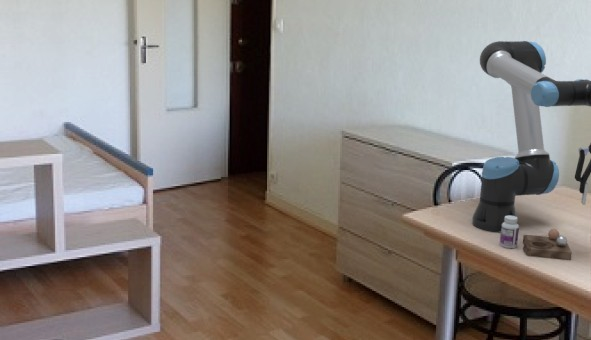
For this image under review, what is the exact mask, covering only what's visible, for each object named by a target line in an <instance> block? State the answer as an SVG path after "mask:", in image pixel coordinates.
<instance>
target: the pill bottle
mask: <svg viewBox="0 0 591 340" xmlns="http://www.w3.org/2000/svg"><path fill="white" fill-rule="evenodd" d="M518 219H519V218H518V217H515V216H505V219H504V220H505V222H503V223H502V227H501V232H500V237H499V238H500V239H499V245H500V246H501V247H503V248H506V249H515V248H517V246H518V241H519V232H520V231H519V229H520V226H519V224H517V220H518Z"/></svg>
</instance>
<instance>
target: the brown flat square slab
mask: <svg viewBox="0 0 591 340" xmlns="http://www.w3.org/2000/svg"><path fill="white" fill-rule="evenodd" d="M522 237H523V238H522V244H523V247H522V248H523V252H524V253H525V255H526V257H532V258H546V259H552V260H554V259H555V260H564V261H565V260H566V261H571V260H572V253H573V252H572V250H571V248H570V246H569V243H568V242H567V244H566V245H565V246H558V245H557V244H556V239H555V240H553V239H551V238H549V236H543V235H531V234H523V236H522Z"/></svg>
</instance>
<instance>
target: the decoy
mask: <svg viewBox="0 0 591 340" xmlns="http://www.w3.org/2000/svg"><path fill="white" fill-rule="evenodd" d="M547 235H548V236H547V237H549V238H551V239H553V240H555V239H556V238H557V237H558V236H560V232H559V230H558V229H556V228H552V229H550V230H548V232H547Z"/></svg>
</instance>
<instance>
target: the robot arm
mask: <svg viewBox="0 0 591 340" xmlns="http://www.w3.org/2000/svg"><path fill="white" fill-rule="evenodd" d="M546 64H547V57H546V53H545V50H544V49H543V47H542V46H541V45H540V44H539V43H538V42H534V41H528V40H523V41H521V40H520V41H519V40H517V41H516V40H515V41H513V40H512V41H507V40H505V41H503V40H501V41H500V40H499V41H494V42H491V43H489V44H488V45H486V46H485V47H484V48H483V49H482V51H481V52H480V55H479V65H480V68H481V70H482V71H483V73H485V74H487V75H488V76H490V77H492V78H494V79H502V80H503V81H504V82H506V83H507V84H508V85H510V86H511V96H512V97H511V98H512V106H513V113H514V116H513V117H514V122H515V123H514V124H515V130H516V131H515V132H516V140H517V150H518V153H516V155H515V157H509V156H505V157H504V156H497V157H492V158H489V159H487V160H486V161H485V162H484V164H483V166H482V171H481V182H480V193H479V194H480V195H479V203H478V204H477V207H476V209H475V210H474V213H473V215H472V222H471V223H472V225H473V226H474V227H476V228H477V229H478V228H479V229H481V230H485V231H489V232H494V233H495V232H496V233H501V227H502V223H503V222H505V220H504V219H505V216H515V217H517V212H516V208H515V202H516V201H515V200H516V196H530V195H532V196H533V195H536V196H539V195H540V196H541V195H544V194H549V193H551V192H553V191H554V189H555V188H556V187H557V185H558V183H559V179H560V171H559V166H558V165H557V163H556V162H555V161H554V160H552V159H551V157H550V153H549V152H547V151H546V150H545V145H544V137H543V136H544V135H543V128H542V119H541V112H540V110H541V109H540V107H543V108H544V107H545V108H550V107H573V106H575V107H579V106H582V107H585V106H586V107H590V108H591V80H589V79H582V78H580V79H579V78H578V79H576V80H555V79H553V78H551V77H549V76H548V75H545V74H544V73H543V72H544V70H545V68H546V67H545V66H546ZM588 153H589V154H590V155H591V143H590V144H589V146H588V147H585V148H583V147H579V148H578V155H579V157H578V161H577V166H576V170H575V174H574V179H575V181H577V182H579V190H578V191H579V193H580V194H582V195H581V204H582V205H584V206H585V205H586V202H587V198H588V197H587V196H588V195H587V194H588V190H589V184H588V182H587V181H588V179H589V177H590V175H591V158H590V159H589V162H588V164H587V166H586V168H585V170H584V172H583V168H584V164H585V160H586V156H587V155H588ZM582 173H583V174H582ZM517 218H518V217H517ZM517 224H518V220H517ZM518 225H519V224H518Z"/></svg>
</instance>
